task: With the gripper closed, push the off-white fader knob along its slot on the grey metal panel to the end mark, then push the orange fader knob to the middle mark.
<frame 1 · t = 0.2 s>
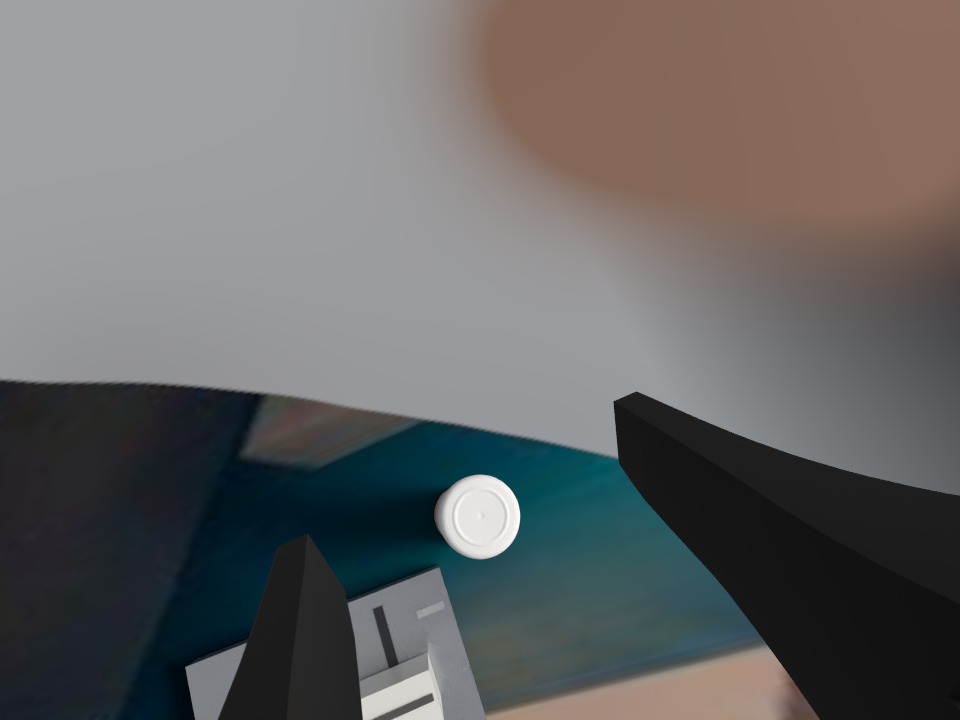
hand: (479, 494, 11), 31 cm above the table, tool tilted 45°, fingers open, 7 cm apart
fader panel: (351, 717, 36), on the table
sprinkles bottle: (461, 513, 41), on the table
fader knob white: (398, 700, 33), point 4 cm above the table, slide at 0.0 cm
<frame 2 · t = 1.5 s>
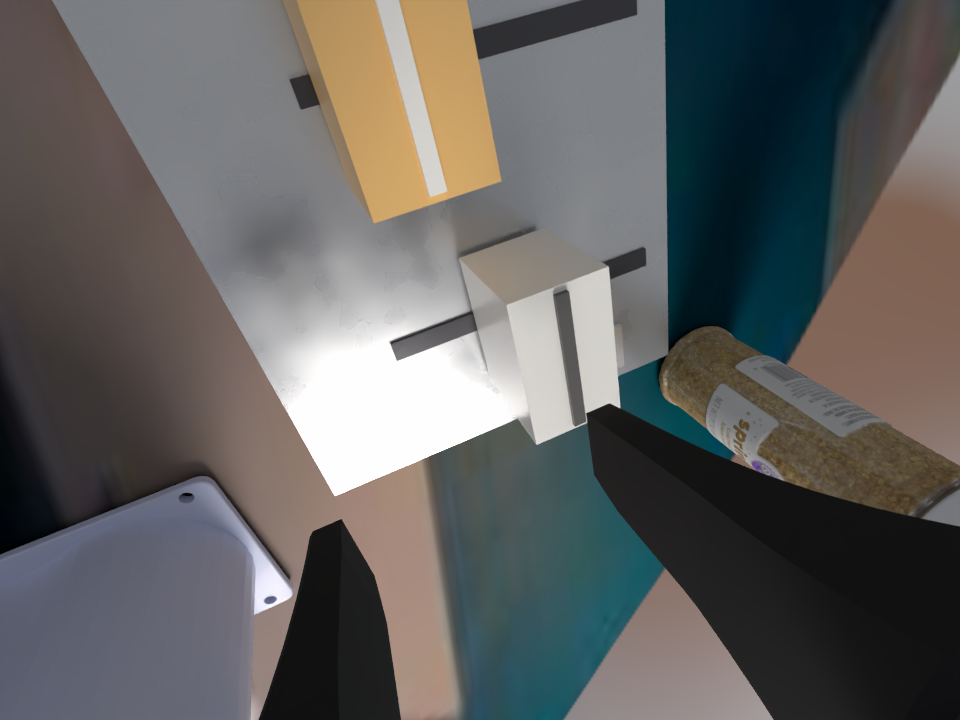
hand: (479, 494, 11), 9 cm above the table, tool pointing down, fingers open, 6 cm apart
fader panel: (441, 193, 17), on the table
sprinkles bottle: (690, 361, 26), on the table
fader knob white: (540, 334, 16), point 4 cm above the table, slide at 0.0 cm
fader knob orange: (386, 73, 11), point 4 cm above the table, slide at 0.0 cm
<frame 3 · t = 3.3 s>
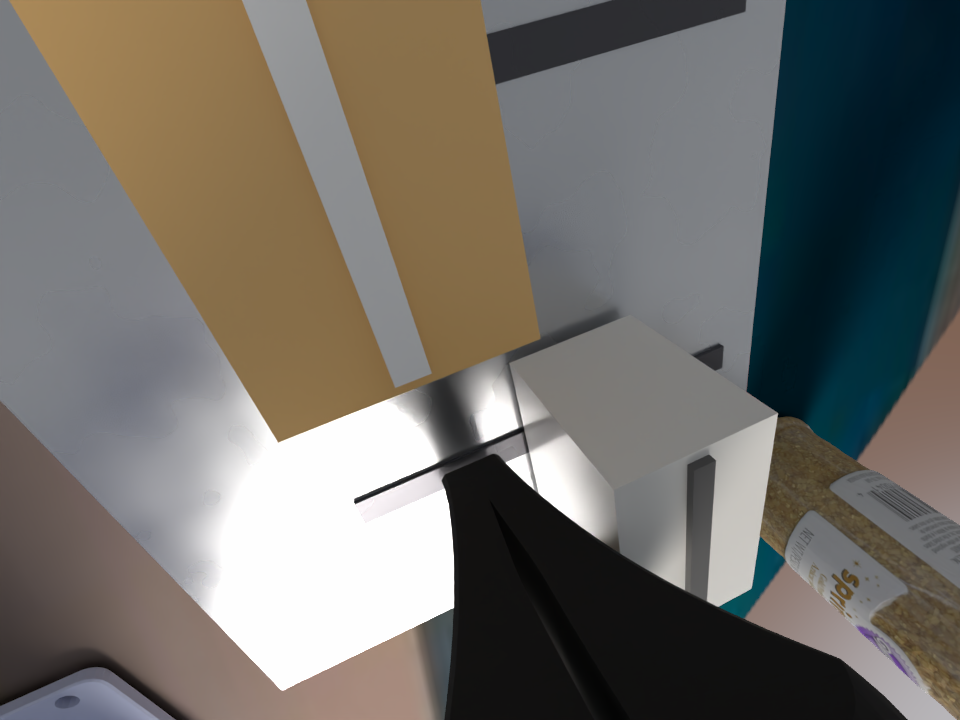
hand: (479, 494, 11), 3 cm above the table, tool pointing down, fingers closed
fader panel: (431, 276, 12), on the table
sprinkles bottle: (752, 455, 20), on the table
fader knob white: (632, 478, 11), point 4 cm above the table, slide at 1.2 cm, touching gripper
fader knob orange: (311, 125, 6), point 4 cm above the table, slide at 0.0 cm
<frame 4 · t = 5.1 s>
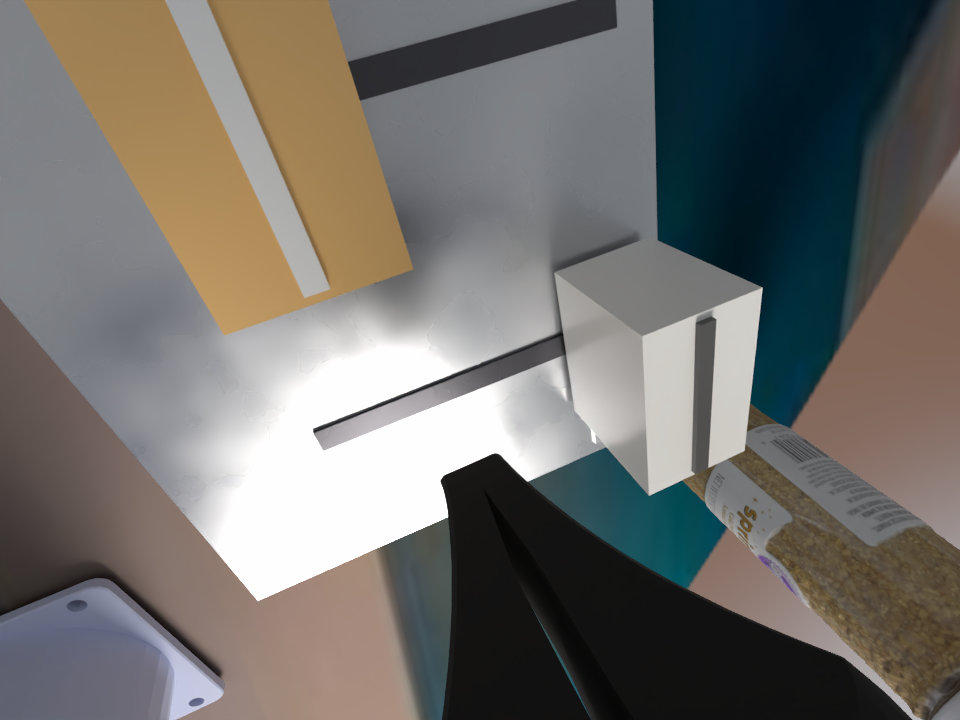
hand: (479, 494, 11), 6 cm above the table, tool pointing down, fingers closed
fader panel: (379, 245, 14), on the table
sprinkles bottle: (688, 418, 22), on the table
fader knob white: (651, 362, 13), point 4 cm above the table, slide at 4.6 cm
fader knob orange: (251, 117, 8), point 4 cm above the table, slide at 0.0 cm
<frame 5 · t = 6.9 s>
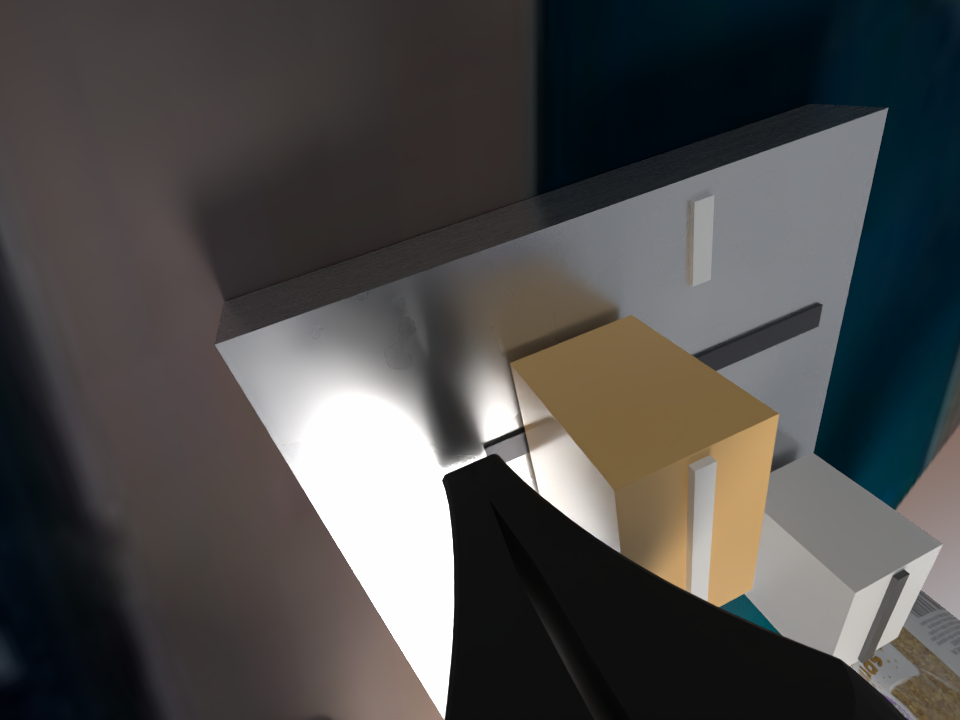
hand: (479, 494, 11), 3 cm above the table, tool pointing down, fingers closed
fader panel: (587, 462, 17), on the table
sprinkles bottle: (791, 542, 25), on the table
fader knob white: (819, 564, 16), point 4 cm above the table, slide at 4.6 cm
fader knob orange: (633, 478, 11), point 4 cm above the table, slide at 0.5 cm, touching gripper
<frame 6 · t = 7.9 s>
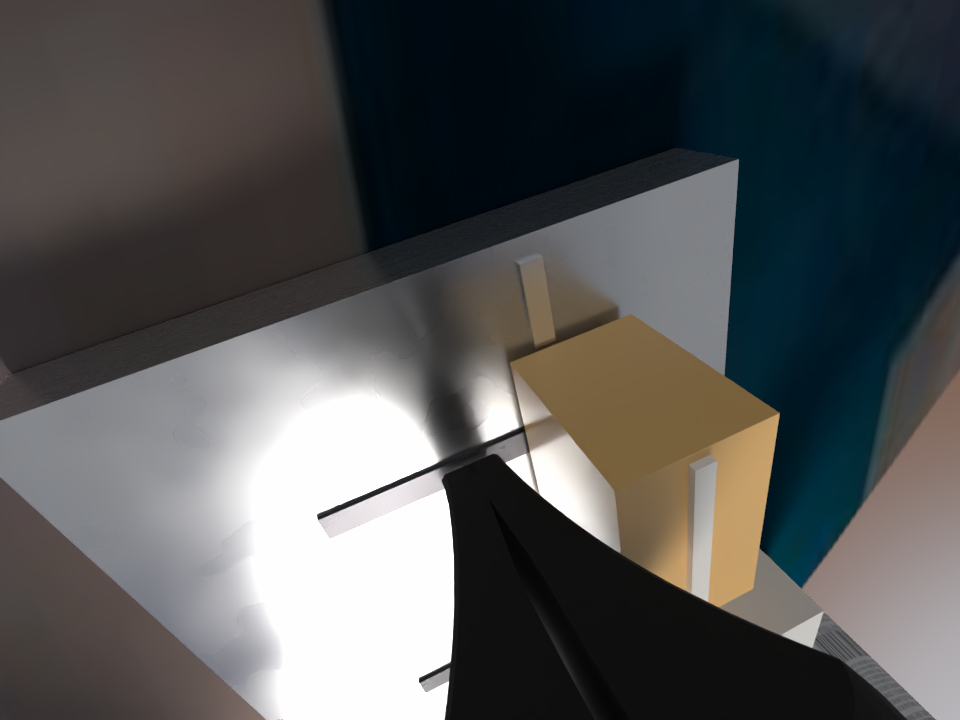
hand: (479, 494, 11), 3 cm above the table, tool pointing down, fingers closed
fader panel: (474, 512, 16), on the table
sprinkles bottle: (725, 577, 24), on the table
fader knob white: (715, 621, 15), point 4 cm above the table, slide at 4.6 cm
fader knob orange: (633, 478, 11), point 4 cm above the table, slide at 4.6 cm, touching gripper
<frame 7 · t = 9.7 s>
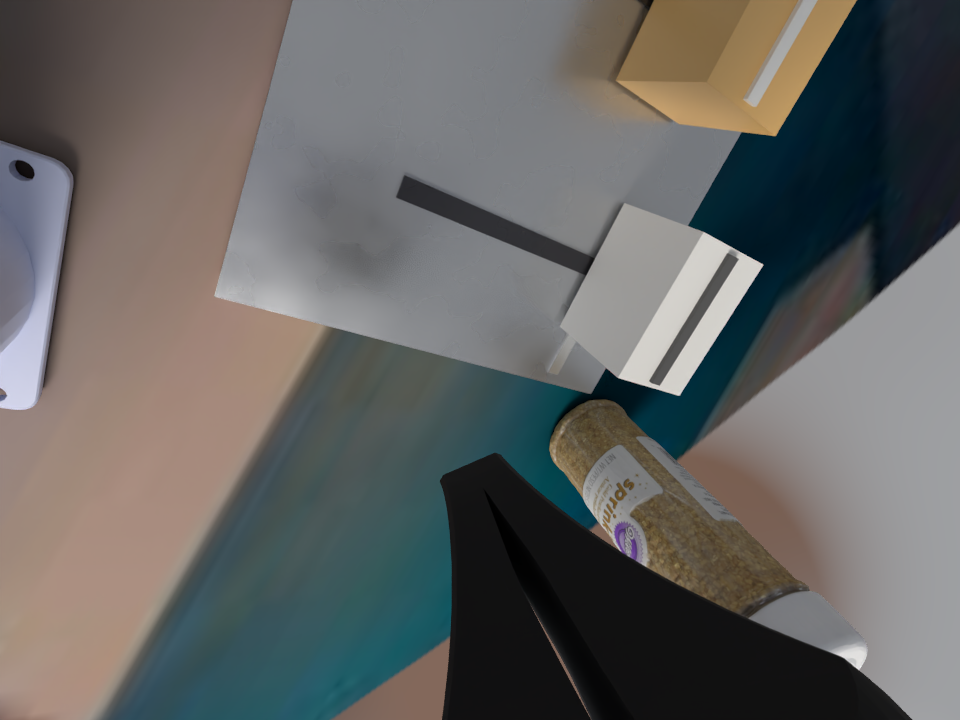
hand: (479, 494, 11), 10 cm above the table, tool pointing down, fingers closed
fader panel: (523, 102, 17), on the table
sprinkles bottle: (584, 430, 26), on the table
fader knob white: (652, 299, 18), point 4 cm above the table, slide at 4.6 cm
fader knob orange: (741, 14, 14), point 4 cm above the table, slide at 4.6 cm
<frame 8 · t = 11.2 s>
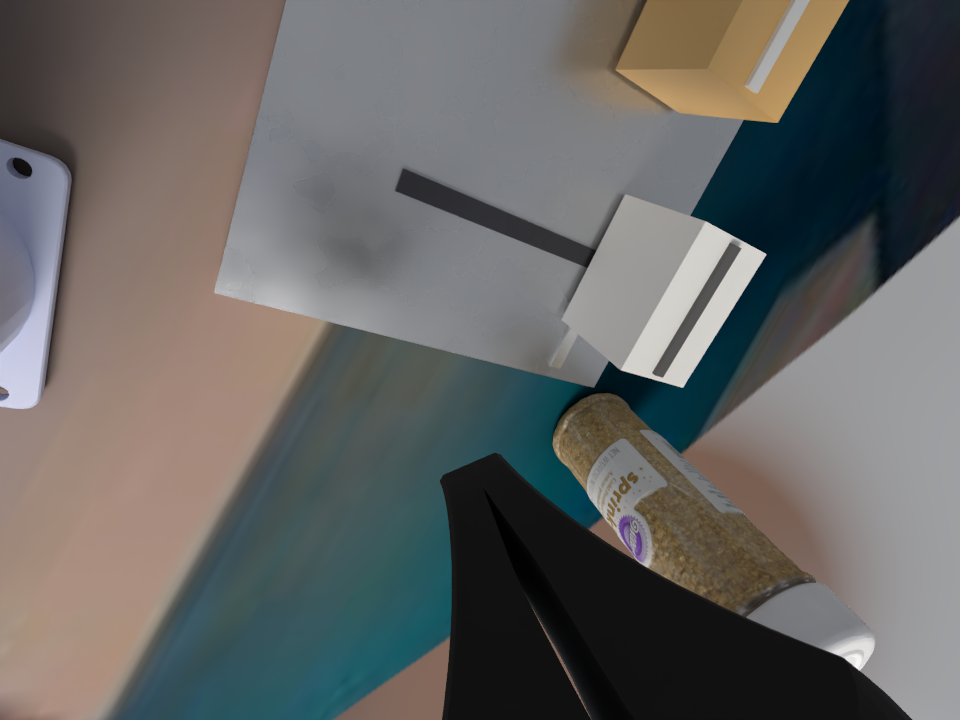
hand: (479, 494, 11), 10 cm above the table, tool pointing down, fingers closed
fader panel: (522, 93, 17), on the table
sprinkles bottle: (587, 425, 26), on the table
fader knob white: (655, 291, 17), point 4 cm above the table, slide at 4.6 cm
fader knob orange: (742, 0, 14), point 4 cm above the table, slide at 4.6 cm
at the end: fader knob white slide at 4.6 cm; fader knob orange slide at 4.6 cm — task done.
